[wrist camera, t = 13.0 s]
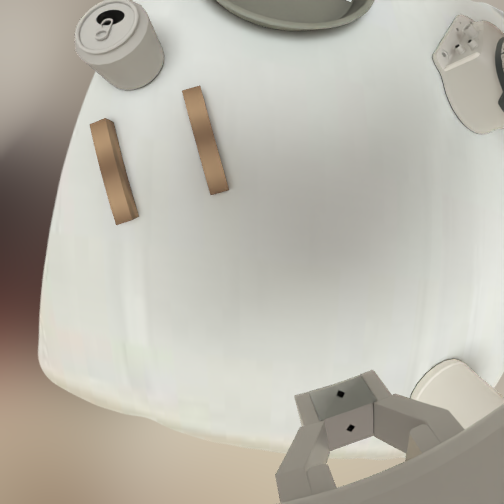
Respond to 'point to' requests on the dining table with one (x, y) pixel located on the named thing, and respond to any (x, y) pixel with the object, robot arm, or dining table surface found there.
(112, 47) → the can
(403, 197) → the dining table surface
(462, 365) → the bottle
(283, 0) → the cake pan
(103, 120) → the parallel wooden bars
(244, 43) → the dining table surface
